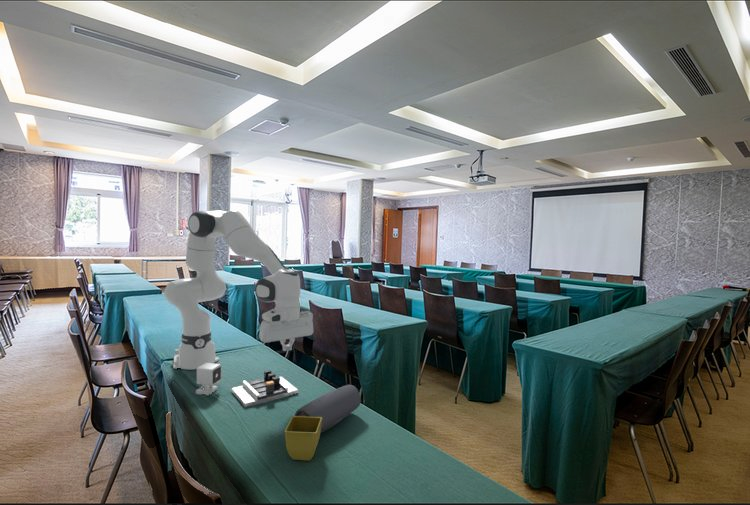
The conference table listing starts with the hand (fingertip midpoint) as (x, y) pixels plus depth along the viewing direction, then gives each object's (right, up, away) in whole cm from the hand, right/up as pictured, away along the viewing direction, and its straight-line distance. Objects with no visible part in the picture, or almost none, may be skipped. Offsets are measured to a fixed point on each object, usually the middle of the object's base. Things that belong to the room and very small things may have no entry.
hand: (287, 350), depth 141 cm
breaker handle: (-6, -14, -3) cm, 16 cm away
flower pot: (+13, -20, -36) cm, 43 cm away
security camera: (-30, -16, +2) cm, 34 cm away
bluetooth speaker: (+18, -19, -19) cm, 33 cm away
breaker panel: (-9, -17, +2) cm, 19 cm away
